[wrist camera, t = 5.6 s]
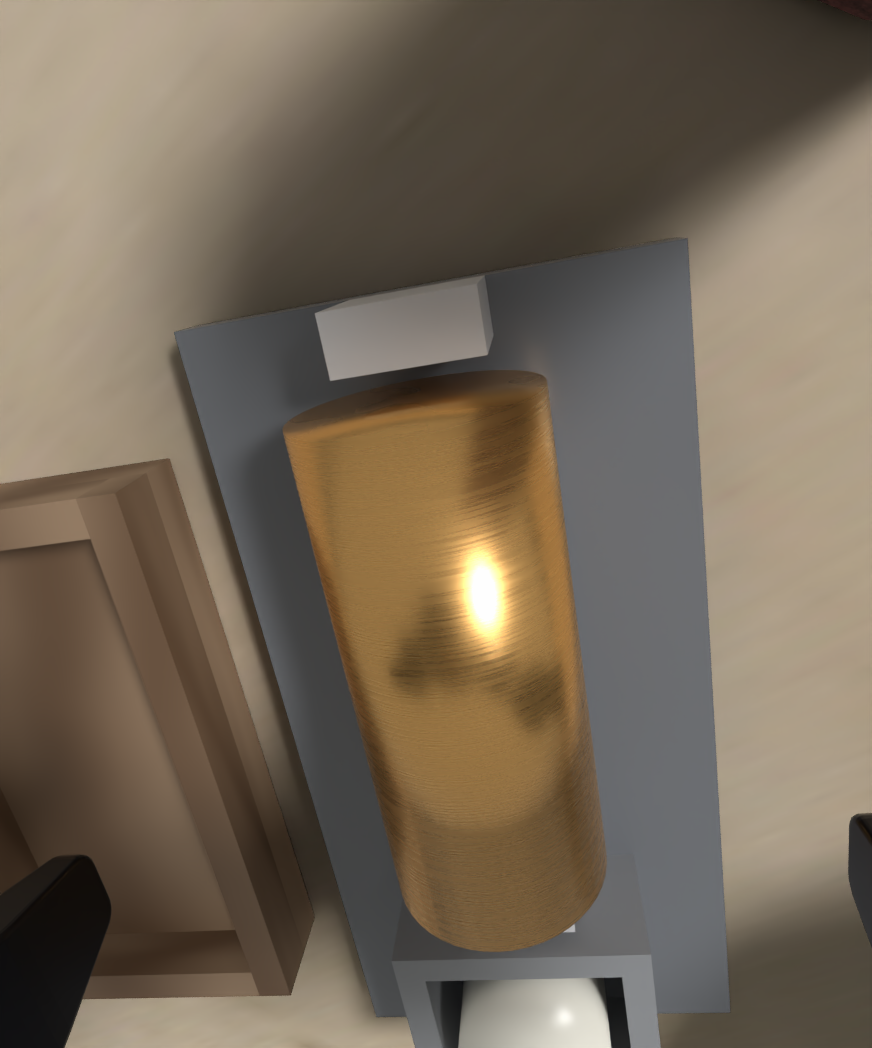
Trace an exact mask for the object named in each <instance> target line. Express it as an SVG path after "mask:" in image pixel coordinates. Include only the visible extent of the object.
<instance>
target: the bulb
mask: <svg viewBox="0 0 872 1048" xmlns="http://www.w3.org/2000/svg"><path fill="white" fill-rule="evenodd" d="M458 1048H611V1040H610V1030H609V1021H608V1011H607V1002H606V993H605V983H604V978H564V979H516V980H467V981H464V984H463V996H462V1008H461V1020H460V1033H459V1045H458Z"/></svg>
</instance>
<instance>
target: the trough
mask: <svg viewBox="0 0 872 1048" xmlns="http://www.w3.org/2000/svg"><path fill="white" fill-rule="evenodd" d="M76 854H84V855H87V856H89V857H90V858H91V859H92V860H93V862H94V864H95V866H96V868H97V871H98V873H99V875H100V878H101V880H102V882H103V884H104V887H105V889H106V891H107V893H108V896H109V898H110V901H111V918H110V923H109V926H108V929H107V932H106V934H105V937H104V940H103V943H102V946H101V948H100V951H99V954H98V957H97V960H96V962H95V965H94V968H93V971H92V974H91V976H90V979H89V982H88V985H87V988H86V990H85V993H84V996H83V999H115V998H171V997H226V996H282V995H291V993H292V989H293V986H294V983H295V980H296V976H297V973H298V970H299V967H300V963H301V960H302V957H303V953H304V950H305V947H306V944H307V940H308V937H309V934H310V931H311V927H312V924H313V921H314V918H315V917H314V914H313V910H312V907H311V904H310V901H309V898H308V895H307V892H306V888H305V885H304V882H303V879H302V876H301V873H300V869H299V866H298V863H297V860H296V857H295V854H294V851H293V847H292V844H291V841H290V838H289V835H288V832H287V828H286V825H285V822H284V819H283V816H282V813H281V809H280V806H279V803H278V800H277V797H276V794H275V791H274V787H273V784H272V781H271V778H270V775H269V772H268V768H267V765H266V762H265V759H264V756H263V753H262V750H261V746H260V743H259V740H258V737H257V734H256V731H255V727H254V724H253V721H252V718H251V715H250V712H249V709H248V705H247V702H246V699H245V696H244V693H243V690H242V686H241V683H240V680H239V677H238V674H237V671H236V667H235V664H234V661H233V658H232V655H231V652H230V649H229V645H228V642H227V639H226V636H225V633H224V630H223V626H222V623H221V620H220V617H219V614H218V611H217V608H216V604H215V601H214V598H213V595H212V592H211V589H210V585H209V582H208V579H207V576H206V573H205V570H204V567H203V563H202V560H201V557H200V554H199V551H198V548H197V544H196V541H195V538H194V535H193V532H192V529H191V525H190V522H189V519H188V516H187V513H186V510H185V507H184V503H183V500H182V497H181V494H180V491H179V488H178V484H177V481H176V478H175V475H174V472H173V469H172V466H171V462H170V459H162V460H156V461H149V462H143V463H136V464H130V465H123V466H116V467H110V468H103V469H97V470H90V471H84V472H77V473H70V474H64V475H57V476H51V477H44V478H37V479H31V480H24V481H18V482H11V483H5V484H0V895H1V894H2V893H3V892H5V891H6V890H8V889H9V888H10V887H12V886H13V885H15V884H16V883H17V882H19V881H20V880H22V879H23V878H25V877H26V876H27V875H29V874H30V873H32V872H33V871H34V870H36V869H37V868H39V867H40V866H41V865H43V864H44V863H46V862H47V861H49V860H50V859H52V858H54V857H56V856H60V855H76Z"/></svg>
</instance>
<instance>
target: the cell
mask: <svg viewBox="0 0 872 1048" xmlns="http://www.w3.org/2000/svg"><path fill="white" fill-rule="evenodd" d="M282 430H283V435H284V439H285V443H286V447H287V451H288V455H289V459H290V462H291V466H292V470H293V474H294V478H295V482H296V486H297V490H298V493H299V497H300V501H301V505H302V509H303V513H304V517H305V521H306V525H307V528H308V532H309V536H310V540H311V544H312V548H313V552H314V556H315V559H316V563H317V567H318V571H319V575H320V579H321V583H322V587H323V591H324V594H325V598H326V602H327V606H328V610H329V614H330V618H331V622H332V625H333V629H334V633H335V637H336V641H337V645H338V649H339V653H340V656H341V660H342V664H343V668H344V672H345V676H346V680H347V684H348V688H349V691H350V695H351V699H352V703H353V707H354V711H355V715H356V719H357V722H358V726H359V730H360V734H361V738H362V742H363V746H364V750H365V754H366V757H367V761H368V765H369V769H370V773H371V777H372V781H373V785H374V788H375V792H376V796H377V800H378V804H379V808H380V812H381V816H382V819H383V823H384V827H385V831H386V835H387V839H388V843H389V847H390V851H391V854H392V858H393V862H394V866H395V870H396V874H397V878H398V882H399V885H400V889H401V893H402V897H403V899H404V901H405V904H406V906H407V908H408V909H409V911H410V913H411V914H412V916H413V917H414V918H415V919H416V920H417V922H418V923H419V924H420V925H421V926H422V927H423V928H425V929H426V930H427V931H428V932H429V933H431V934H432V935H434V936H436V937H437V938H439V939H441V940H443V941H445V942H447V943H450V944H452V945H454V946H458V947H461V948H465V949H469V950H475V951H482V952H504V951H514V950H519V949H524V948H528V947H532V946H534V945H537V944H540V943H543V942H545V941H548V940H550V939H552V938H554V937H556V936H558V935H559V934H561V933H562V932H564V931H566V930H567V929H569V928H570V927H571V926H573V925H574V924H575V923H576V922H577V921H578V920H580V919H581V918H582V917H583V915H584V914H585V913H586V912H587V911H588V910H589V909H590V907H591V906H592V905H593V903H594V902H595V900H596V899H597V897H598V895H599V893H600V890H601V888H602V886H603V883H604V879H605V876H606V868H607V854H606V845H605V837H604V829H603V822H602V814H601V806H600V798H599V790H598V782H597V774H596V766H595V758H594V750H593V742H592V734H591V726H590V718H589V710H588V702H587V694H586V686H585V678H584V670H583V662H582V655H581V647H580V639H579V631H578V623H577V615H576V607H575V599H574V591H573V583H572V575H571V567H570V559H569V551H568V543H567V535H566V527H565V519H564V511H563V503H562V495H561V488H560V480H559V472H558V464H557V456H556V448H555V440H554V432H553V424H552V416H551V408H550V400H549V392H548V384H547V379H546V378H545V377H544V376H543V375H541V374H538V373H535V372H530V371H521V370H486V371H473V372H463V373H454V374H446V375H439V376H433V377H426V378H421V379H415V380H410V381H405V382H400V383H395V384H390V385H386V386H382V387H377V388H373V389H369V390H365V391H362V392H358V393H354V394H351V395H348V396H344V397H341V398H338V399H335V400H332V401H329V402H326V403H323V404H321V405H318V406H316V407H313V408H311V409H309V410H307V411H304V412H302V413H300V414H299V415H297V416H295V417H293V418H292V419H290V420H289V421H288V422H287V423H286V424H285V425H284V426H283V428H282Z"/></svg>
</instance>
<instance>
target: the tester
mask: <svg viewBox="0 0 872 1048" xmlns="http://www.w3.org/2000/svg"><path fill="white" fill-rule="evenodd" d="M174 334H175V338H176V341H177V344H178V348H179V351H180V355H181V358H182V361H183V365H184V368H185V372H186V375H187V378H188V382H189V385H190V388H191V392H192V395H193V399H194V402H195V405H196V409H197V412H198V415H199V419H200V422H201V426H202V429H203V432H204V436H205V439H206V442H207V446H208V449H209V453H210V456H211V459H212V463H213V466H214V469H215V473H216V476H217V480H218V483H219V486H220V490H221V493H222V496H223V500H224V503H225V507H226V510H227V513H228V517H229V520H230V523H231V527H232V530H233V534H234V537H235V540H236V544H237V547H238V550H239V554H240V557H241V561H242V564H243V567H244V571H245V574H246V577H247V581H248V584H249V588H250V591H251V594H252V598H253V601H254V604H255V608H256V611H257V615H258V618H259V621H260V625H261V628H262V631H263V635H264V638H265V642H266V645H267V648H268V652H269V655H270V658H271V662H272V665H273V669H274V672H275V675H276V679H277V682H278V686H279V689H280V692H281V696H282V699H283V702H284V706H285V709H286V713H287V716H288V719H289V723H290V726H291V729H292V733H293V736H294V740H295V743H296V746H297V750H298V753H299V756H300V760H301V763H302V767H303V770H304V773H305V777H306V780H307V783H308V787H309V790H310V794H311V797H312V800H313V804H314V807H315V810H316V814H317V817H318V821H319V824H320V827H321V831H322V834H323V837H324V841H325V844H326V848H327V851H328V854H329V858H330V861H331V864H332V868H333V871H334V875H335V878H336V881H337V885H338V888H339V891H340V895H341V898H342V902H343V905H344V908H345V912H346V915H347V918H348V922H349V925H350V929H351V932H352V935H353V939H354V942H355V945H356V949H357V952H358V956H359V959H360V962H361V966H362V969H363V973H364V976H365V979H366V983H367V986H368V989H369V993H370V996H371V1000H372V1003H373V1006H374V1010H375V1013H376V1016H377V1017H407V1019H408V1023H409V1027H410V1030H411V1034H412V1038H413V1041H414V1045H415V1048H458V1045H459V1033H460V1020H461V1008H462V996H463V984H464V981H467V980H516V979H564V978H604V983H605V993H606V1002H607V1011H608V1021H609V1030H610V1040H611V1048H661V1045H660V1036H659V1026H658V1017H657V1014H659V1013H730V997H729V979H728V960H727V942H726V924H725V906H724V888H723V870H722V852H721V834H720V816H719V798H718V780H717V761H716V743H715V725H714V707H713V689H712V671H711V653H710V635H709V617H708V599H707V581H706V562H705V544H704V526H703V508H702V490H701V472H700V454H699V436H698V418H697V400H696V381H695V363H694V345H693V327H692V309H691V291H690V273H689V255H688V238H671V239H665V240H660V241H655V242H649V243H644V244H638V245H633V246H627V247H622V248H616V249H611V250H606V251H600V252H595V253H589V254H584V255H578V256H573V257H567V258H562V259H557V260H551V261H546V262H540V263H535V264H529V265H524V266H518V267H513V268H508V269H502V270H497V271H491V272H486V273H480V274H475V275H469V276H464V277H459V278H453V279H448V280H442V281H437V282H431V283H426V284H420V285H415V286H410V287H404V288H399V289H393V290H388V291H382V292H377V293H371V294H366V295H361V296H355V297H350V298H344V299H339V300H333V301H328V302H322V303H317V304H312V305H306V306H301V307H295V308H290V309H284V310H279V311H273V312H268V313H263V314H257V315H252V316H246V317H241V318H235V319H230V320H224V321H219V322H214V323H208V324H203V325H197V326H194V327H190V328H187V329H183V330H180V331H176V332H174ZM486 370H521V371H530V372H535V373H538V374H541V375H543V376H544V377H545V378H546V379H547V384H548V392H549V400H550V408H551V416H552V424H553V432H554V440H555V448H556V456H557V464H558V472H559V480H560V488H561V495H562V503H563V511H564V519H565V527H566V535H567V543H568V551H569V559H570V567H571V575H572V583H573V591H574V599H575V607H576V615H577V623H578V631H579V639H580V647H581V655H582V662H583V670H584V678H585V686H586V694H587V702H588V710H589V718H590V726H591V734H592V742H593V750H594V758H595V766H596V774H597V782H598V790H599V798H600V806H601V814H602V822H603V829H604V837H605V845H606V854H607V868H606V876H605V879H604V883H603V886H602V888H601V890H600V893H599V895H598V897H597V899H596V900H595V902H594V903H593V905H592V906H591V907H590V909H589V910H588V911H587V912H586V913H585V914H584V915H583V917H582V918H581V919H580V920H578V921H577V922H576V923H575V924H574V925H573V926H571V927H570V928H569V929H567V930H566V931H564V932H562V933H561V934H559V935H558V936H556V937H554V938H552V939H550V940H548V941H545V942H543V943H540V944H537V945H534V946H532V947H528V948H524V949H519V950H514V951H504V952H482V951H475V950H469V949H465V948H461V947H458V946H454V945H452V944H450V943H447V942H445V941H443V940H441V939H439V938H437V937H436V936H434V935H432V934H431V933H429V932H428V931H427V930H426V929H425V928H423V927H422V926H421V925H420V924H419V923H418V922H417V920H416V919H415V918H414V917H413V916H412V914H411V913H410V911H409V909H408V908H407V906H406V904H405V901H404V899H403V897H402V893H401V889H400V885H399V882H398V878H397V874H396V870H395V866H394V862H393V858H392V854H391V851H390V847H389V843H388V839H387V835H386V831H385V827H384V823H383V819H382V816H381V812H380V808H379V804H378V800H377V796H376V792H375V788H374V785H373V781H372V777H371V773H370V769H369V765H368V761H367V757H366V754H365V750H364V746H363V742H362V738H361V734H360V730H359V726H358V722H357V719H356V715H355V711H354V707H353V703H352V699H351V695H350V691H349V688H348V684H347V680H346V676H345V672H344V668H343V664H342V660H341V656H340V653H339V649H338V645H337V641H336V637H335V633H334V629H333V625H332V622H331V618H330V614H329V610H328V606H327V602H326V598H325V594H324V591H323V587H322V583H321V579H320V575H319V571H318V567H317V563H316V559H315V556H314V552H313V548H312V544H311V540H310V536H309V532H308V528H307V525H306V521H305V517H304V513H303V509H302V505H301V501H300V497H299V493H298V490H297V486H296V482H295V478H294V474H293V470H292V466H291V462H290V459H289V455H288V451H287V447H286V443H285V439H284V435H283V430H282V428H283V426H284V425H285V424H286V423H287V422H288V421H289V420H290V419H292V418H293V417H295V416H297V415H299V414H300V413H302V412H304V411H307V410H309V409H311V408H313V407H316V406H318V405H321V404H323V403H326V402H329V401H332V400H335V399H338V398H341V397H344V396H348V395H351V394H354V393H358V392H362V391H365V390H369V389H373V388H377V387H382V386H386V385H390V384H395V383H400V382H405V381H410V380H415V379H421V378H426V377H433V376H439V375H446V374H454V373H463V372H473V371H486Z"/></svg>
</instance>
